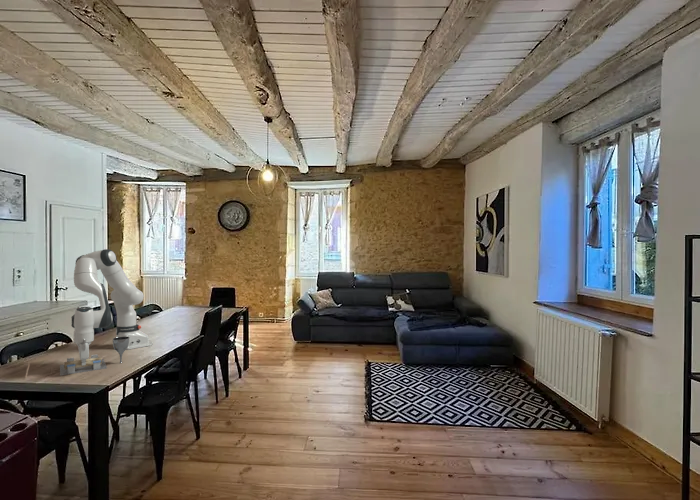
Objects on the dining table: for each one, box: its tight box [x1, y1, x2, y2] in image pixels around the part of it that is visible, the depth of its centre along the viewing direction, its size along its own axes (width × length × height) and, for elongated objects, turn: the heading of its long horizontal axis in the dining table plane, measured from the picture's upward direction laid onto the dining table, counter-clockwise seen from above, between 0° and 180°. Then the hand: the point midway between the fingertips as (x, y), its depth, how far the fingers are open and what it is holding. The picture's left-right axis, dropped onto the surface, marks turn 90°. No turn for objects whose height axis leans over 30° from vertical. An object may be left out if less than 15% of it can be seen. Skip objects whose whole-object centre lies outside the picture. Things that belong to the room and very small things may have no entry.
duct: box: [59, 353, 108, 377], centre depth 203 cm, size 20×21×5 cm
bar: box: [63, 356, 103, 370], centre depth 198 cm, size 16×3×3 cm, turn 128°
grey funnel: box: [112, 336, 129, 364], centre depth 210 cm, size 8×8×15 cm
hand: (83, 364), depth 198 cm, fingers closed on bar, 3 cm apart
